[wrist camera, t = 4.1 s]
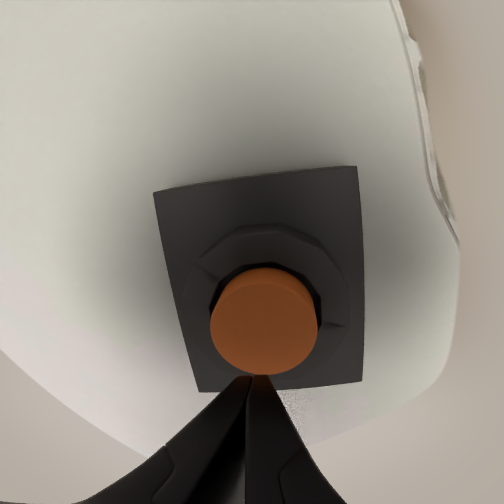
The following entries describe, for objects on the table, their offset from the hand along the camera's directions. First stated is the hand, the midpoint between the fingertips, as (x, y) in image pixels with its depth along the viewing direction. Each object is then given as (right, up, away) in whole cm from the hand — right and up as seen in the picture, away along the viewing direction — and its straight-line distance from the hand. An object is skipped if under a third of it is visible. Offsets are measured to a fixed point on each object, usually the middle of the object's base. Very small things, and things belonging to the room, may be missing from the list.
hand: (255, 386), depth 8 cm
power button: (0, +1, +5) cm, 5 cm away
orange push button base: (+1, +2, +8) cm, 9 cm away
